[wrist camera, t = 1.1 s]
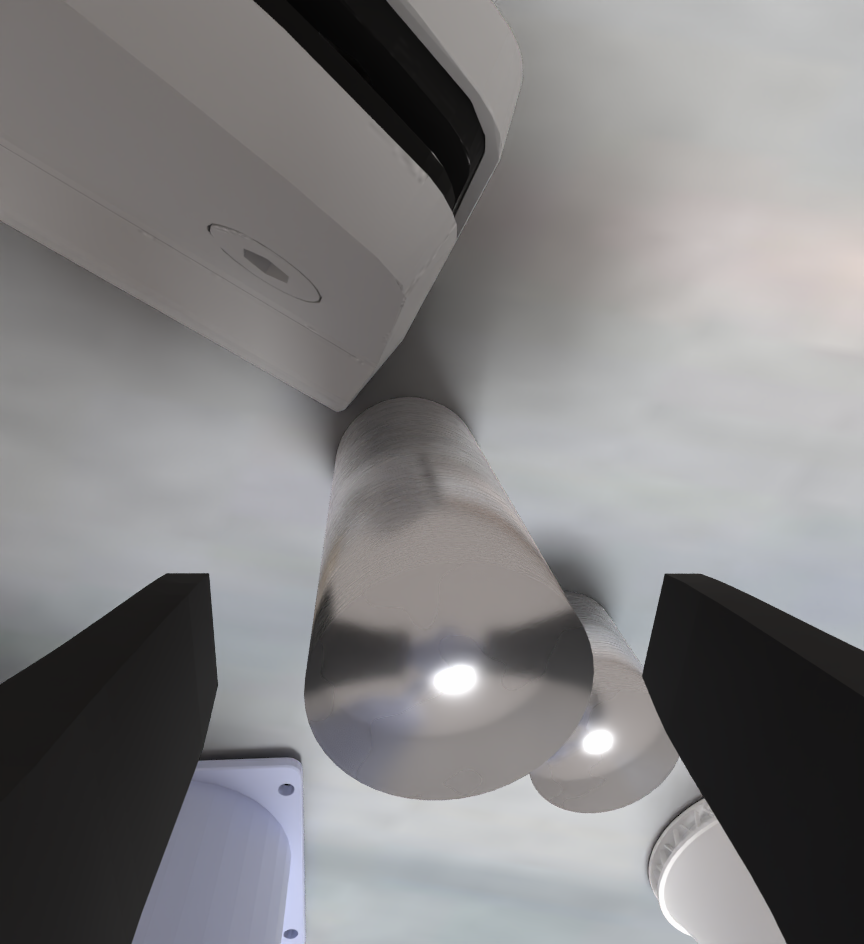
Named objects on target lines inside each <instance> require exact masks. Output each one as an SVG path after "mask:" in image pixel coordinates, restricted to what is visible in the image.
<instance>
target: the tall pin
mask: <svg viewBox="0 0 864 944" xmlns="http://www.w3.org/2000/svg"><path fill="white" fill-rule="evenodd" d="M593 677H594V663H593V654H592V649H591V645H590V641H589V639H588V636H587V633H586V631H585V628H584V627H583V625H582V623H581V621H580V620H579V618H578V616H577V614H576V613H575V611H574V609H573V608H572V606H571V604H570V602H569V601H568V599H567V597H566V595H565V594H564V592H563V590H562V589H561V587H560V585H559V583H558V582H557V580H556V578H555V577H554V575H553V573H552V571H551V570H550V568H549V566H548V564H547V563H546V561H545V559H544V558H543V556H542V554H541V552H540V551H539V549H538V547H537V546H536V544H535V542H534V540H533V539H532V537H531V535H530V533H529V532H528V530H527V528H526V527H525V525H524V523H523V521H522V520H521V518H520V516H519V514H518V513H517V511H516V509H515V508H514V506H513V504H512V502H511V501H510V499H509V497H508V496H507V494H506V492H505V490H504V489H503V487H502V485H501V483H500V482H499V480H498V478H497V477H496V475H495V473H494V471H493V470H492V468H491V466H490V465H489V463H488V461H487V459H486V458H485V456H484V454H483V452H482V451H481V449H480V447H479V446H478V444H477V442H476V440H475V439H474V437H473V435H472V433H471V432H470V430H469V428H468V427H467V426H466V424H465V423H464V422H463V420H462V419H461V418H460V417H458V416H457V415H456V414H455V413H454V412H453V411H451V410H450V409H448V408H447V407H445V406H443V405H441V404H439V403H437V402H434V401H431V400H427V399H423V398H416V397H401V398H394V399H390V400H387V401H383V402H381V403H378V404H376V405H374V406H372V407H370V408H369V409H367V410H365V411H364V412H363V413H362V414H360V415H359V416H358V417H357V418H356V419H355V420H354V421H353V422H352V423H351V424H350V426H349V427H348V429H347V430H346V431H345V433H344V435H343V437H342V439H341V441H340V444H339V446H338V450H337V454H336V460H335V467H334V475H333V482H332V489H331V496H330V504H329V511H328V518H327V525H326V532H325V540H324V547H323V554H322V561H321V568H320V576H319V583H318V590H317V597H316V605H315V612H314V619H313V626H312V633H311V641H310V648H309V655H308V662H307V669H306V677H305V689H304V699H305V709H306V714H307V717H308V721H309V725H310V727H311V729H312V732H313V734H314V736H315V738H316V740H317V742H318V743H319V745H320V746H321V748H322V749H323V751H324V752H325V753H326V754H327V756H328V757H329V758H330V759H331V760H332V761H333V762H334V763H335V764H336V765H337V766H338V767H339V768H341V769H342V770H343V771H344V772H345V773H347V774H348V775H350V776H351V777H353V778H354V779H356V780H358V781H359V782H361V783H363V784H365V785H367V786H369V787H371V788H373V789H376V790H379V791H382V792H385V793H388V794H391V795H395V796H400V797H404V798H410V799H419V800H450V799H460V798H465V797H470V796H476V795H480V794H483V793H486V792H490V791H493V790H496V789H498V788H501V787H503V786H506V785H508V784H511V783H512V782H514V781H516V780H518V779H520V778H522V777H524V776H526V775H527V774H529V773H530V772H532V771H533V770H535V769H536V768H538V767H539V766H541V765H542V764H543V763H544V762H546V761H547V760H548V759H549V758H550V757H552V756H553V755H554V754H555V753H556V752H557V751H558V750H559V749H560V748H561V747H562V746H563V745H564V743H565V742H566V741H567V740H568V738H569V737H570V736H571V734H572V733H573V732H574V730H575V729H576V727H577V725H578V724H579V722H580V720H581V718H582V717H583V714H584V712H585V709H586V707H587V705H588V702H589V698H590V695H591V691H592V686H593Z"/></svg>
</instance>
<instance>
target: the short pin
mask: <svg viewBox="0 0 864 944" xmlns="http://www.w3.org/2000/svg"><path fill="white" fill-rule="evenodd" d="M563 592H564V594H565V595H566V597H567V599H568V601H569V602H570V604H571V606H572V608H573V609H574V611H575V613H576V614H577V616H578V618H579V620H580V621H581V623H582V625H583V627H584V628H585V631H586V633H587V636H588V639H589V641H590V645H591V649H592V654H593V663H594V677H593V686H592V691H591V695H590V698H589V702H588V705H587V707H586V709H585V712H584V714H583V717H582V718H581V720H580V722H579V724H578V725H577V727H576V729H575V730H574V732H573V733H572V734H571V736H570V737H569V738H568V740H567V741H566V742H565V743H564V745H563V746H562V747H561V748H560V749H559V750H558V751H557V752H556V753H555V754H554V755H553V756H552V757H550V758H549V759H548V760H547V761H546V762H544V763H543V764H542V765H541V766H539V767H538V768H536V769H535V770H533V771H532V772H530V773H529V774H530V777H531V780H532V782H533V784H534V786H535V788H536V790H537V791H538V792H539V794H540V795H541V796H542V797H543V798H545V799H546V800H547V801H549V802H550V803H551V804H553V805H555V806H557V807H559V808H562V809H565V810H568V811H573V812H580V813H599V812H606V811H611V810H615V809H619V808H622V807H625V806H627V805H630V804H632V803H634V802H636V801H638V800H640V799H642V798H643V797H645V796H646V795H648V794H649V793H651V792H652V791H653V790H654V789H656V788H657V787H658V786H659V785H660V784H661V783H662V782H663V781H664V780H665V779H666V778H667V776H668V775H669V774H670V772H671V771H672V769H673V768H674V766H675V764H676V762H677V760H678V758H679V755H678V753H677V751H676V749H675V748H674V746H673V744H672V742H671V741H670V739H669V737H668V735H667V734H666V732H665V729H664V727H663V725H662V723H661V720H660V718H659V716H658V714H657V712H656V709H655V707H654V705H653V702H652V700H651V697H650V695H649V692H648V690H647V688H646V685H645V683H644V680H643V678H642V674H643V669H644V667H643V666H642V664H641V663H640V661H639V660H638V658H637V657H636V655H635V654H634V652H633V651H632V649H631V648H630V646H629V645H628V643H627V642H626V640H625V639H624V637H623V636H622V635H621V633H620V632H619V630H618V629H617V627H616V626H615V624H614V623H613V621H612V620H611V618H610V617H609V615H608V614H607V612H606V611H605V610H604V608H603V607H602V606H601V605H600V604H599V603H598V602H596V601H595V600H593V599H592V598H590V597H588V596H585V595H583V594H579V593H575V592H570V591H563Z"/></svg>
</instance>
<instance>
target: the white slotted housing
mask: <svg viewBox="0 0 864 944" xmlns="http://www.w3.org/2000/svg"><path fill="white" fill-rule="evenodd" d="M522 80H523V60H522V57H521V53H520V49H519V45H518V43H517V41H516V38H515V36H514V34H513V32H512V30H511V28H510V26H509V25H508V23H507V22H506V20H505V19H504V18H503V16H502V15H501V13H500V12H499V10H498V9H497V7H496V6H495V5H494V3H493V2H492V0H0V221H2V222H4V223H5V224H7V225H9V226H11V227H12V228H14V229H16V230H18V231H19V232H21V233H23V234H25V235H26V236H28V237H30V238H32V239H33V240H35V241H37V242H39V243H41V244H42V245H44V246H46V247H48V248H49V249H51V250H53V251H55V252H56V253H58V254H60V255H62V256H63V257H65V258H67V259H69V260H70V261H72V262H74V263H76V264H77V265H79V266H81V267H83V268H84V269H86V270H88V271H90V272H91V273H93V274H95V275H97V276H98V277H100V278H102V279H104V280H105V281H107V282H109V283H111V284H113V285H114V286H116V287H118V288H120V289H121V290H123V291H125V292H127V293H128V294H130V295H132V296H134V297H135V298H137V299H139V300H141V301H142V302H144V303H146V304H148V305H149V306H151V307H153V308H155V309H156V310H158V311H160V312H162V313H163V314H165V315H167V316H169V317H170V318H172V319H174V320H176V321H177V322H179V323H181V324H183V325H184V326H186V327H188V328H190V329H192V330H193V331H195V332H197V333H199V334H200V335H202V336H204V337H206V338H207V339H209V340H211V341H213V342H214V343H216V344H218V345H220V346H221V347H223V348H225V349H227V350H228V351H230V352H232V353H234V354H235V355H237V356H239V357H241V358H242V359H244V360H246V361H248V362H249V363H251V364H253V365H255V366H256V367H258V368H260V369H262V370H264V371H265V372H267V373H269V374H271V375H272V376H274V377H276V378H278V379H279V380H281V381H283V382H285V383H286V384H288V385H290V386H292V387H293V388H295V389H297V390H299V391H300V392H302V393H304V394H306V395H307V396H309V397H311V398H313V399H314V400H316V401H318V402H320V403H321V404H323V405H325V406H327V407H328V408H330V409H332V410H334V411H336V412H339V411H342V410H345V409H346V408H347V407H348V406H349V404H350V403H351V402H352V401H353V400H354V398H355V397H356V396H357V395H358V393H359V392H360V391H361V390H362V389H363V387H364V386H365V385H366V384H367V383H368V381H369V380H370V379H371V378H372V377H373V375H374V374H375V373H376V372H377V371H378V369H379V368H380V367H381V366H382V365H383V363H384V362H385V361H386V360H387V359H388V357H389V356H390V355H391V354H392V353H393V351H394V350H395V349H396V348H397V347H398V345H399V344H400V343H401V342H402V341H403V339H404V337H405V336H406V334H407V332H408V330H409V328H410V326H411V324H412V322H413V321H414V319H415V317H416V315H417V313H418V311H419V309H420V307H421V305H422V304H423V302H424V300H425V298H426V296H427V294H428V293H429V291H430V290H431V288H432V286H433V284H434V282H435V280H436V278H437V277H438V275H439V273H440V271H441V269H442V267H443V265H444V264H445V262H446V260H447V258H448V256H449V254H450V253H451V251H452V249H453V247H454V245H455V243H456V241H457V240H458V238H459V236H460V234H461V232H462V230H463V228H464V227H465V225H466V223H467V221H468V219H469V217H470V215H471V214H472V212H473V210H474V208H475V206H476V204H477V202H478V201H479V199H480V197H481V195H482V193H483V191H484V189H485V188H486V186H487V184H488V182H489V180H490V178H491V177H492V175H493V173H494V171H495V169H496V167H497V165H498V164H499V162H500V160H501V156H502V153H503V149H504V146H505V142H506V138H507V135H508V131H509V128H510V124H511V121H512V117H513V114H514V110H515V107H516V103H517V100H518V96H519V93H520V89H521V85H522Z"/></svg>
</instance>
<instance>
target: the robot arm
mask: <svg viewBox="0 0 864 944" xmlns="http://www.w3.org/2000/svg"><path fill="white" fill-rule="evenodd" d="M642 678H643V680H644V683H645V685H646V688H647V690H648V692H649V695H650V697H651V700H652V702H653V705H654V707H655V709H656V712H657V714H658V716H659V718H660V720H661V723H662V725H663V727H664V729H665V732H666V734H667V735H668V737H669V739H670V741H671V742H672V744H673V746H674V748H675V749H676V751H677V753H678V755H679V756H680V758H681V760H682V761H683V763H684V765H685V766H686V768H687V770H688V771H689V773H690V775H691V777H692V778H693V780H694V782H695V783H696V785H697V787H698V788H699V790H700V792H701V793H702V795H703V797H704V798H705V800H706V802H707V803H708V805H709V807H710V808H711V810H712V811H713V813H714V815H715V816H716V818H717V820H718V821H719V823H720V825H721V826H722V828H723V830H724V831H725V833H726V835H727V836H728V838H729V840H730V841H731V843H732V845H733V846H734V848H735V850H736V851H737V853H738V855H739V856H740V858H741V860H742V861H743V863H744V865H745V866H746V868H747V870H748V871H749V873H750V875H751V876H752V878H753V880H754V882H755V884H756V885H757V887H758V889H759V891H760V893H761V894H762V896H763V898H764V900H765V902H766V904H767V905H768V907H769V909H770V911H771V913H772V915H773V917H774V919H775V921H776V923H777V925H778V927H779V929H780V931H781V933H782V935H783V937H784V939H785V942H786V944H864V651H862V650H860V649H858V648H856V647H854V646H852V645H850V644H848V643H846V642H844V641H842V640H840V639H838V638H836V637H834V636H832V635H830V634H827V633H825V632H823V631H821V630H819V629H817V628H815V627H813V626H811V625H809V624H807V623H805V622H803V621H801V620H799V619H797V618H795V617H793V616H791V615H789V614H787V613H785V612H783V611H781V610H779V609H777V608H775V607H773V606H771V605H769V604H767V603H765V602H763V601H761V600H759V599H757V598H755V597H753V596H751V595H749V594H747V593H745V592H743V591H740V590H738V589H736V588H734V587H732V586H730V585H727V584H725V583H723V582H721V581H718V580H716V579H713V578H711V577H708V576H705V575H702V574H665V576H664V580H663V585H662V589H661V594H660V598H659V602H658V607H657V611H656V616H655V620H654V625H653V629H652V634H651V638H650V642H649V647H648V651H647V656H646V660H645V665H644V669H643V674H642ZM217 687H218V680H217V667H216V655H215V642H214V630H213V617H212V605H211V592H210V579H209V573H167V574H165V575H163V576H162V577H160V578H158V579H157V580H155V581H154V582H152V583H151V584H149V585H148V586H146V587H145V588H143V589H142V590H140V591H139V592H137V593H136V594H135V595H133V596H132V597H130V598H129V599H128V600H126V601H125V602H123V603H122V604H120V605H119V606H118V607H116V608H115V609H113V610H112V611H111V612H109V613H108V614H106V615H105V616H103V617H102V618H101V619H99V620H98V621H96V622H95V623H93V624H92V625H90V626H89V627H88V628H86V629H85V630H83V631H82V632H80V633H79V634H77V635H76V636H75V637H73V638H72V639H70V640H69V641H67V642H66V643H64V644H63V645H61V646H60V647H58V648H57V649H56V650H54V651H52V652H51V653H49V654H48V655H46V656H45V657H43V658H41V659H40V660H38V661H37V662H35V663H33V664H32V665H30V666H29V667H27V668H26V669H24V670H22V671H21V672H19V673H18V674H16V675H15V676H13V677H11V678H10V679H8V680H7V681H5V682H4V683H2V684H0V944H306V915H305V862H304V809H303V768H302V764H301V763H300V762H299V761H298V760H296V759H294V758H288V757H285V758H258V759H231V760H203V761H199V758H200V755H201V752H202V750H203V746H204V742H205V738H206V734H207V730H208V726H209V722H210V718H211V713H212V709H213V704H214V700H215V696H216V691H217ZM283 784H291V785H289V786H287V785H283Z"/></svg>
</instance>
